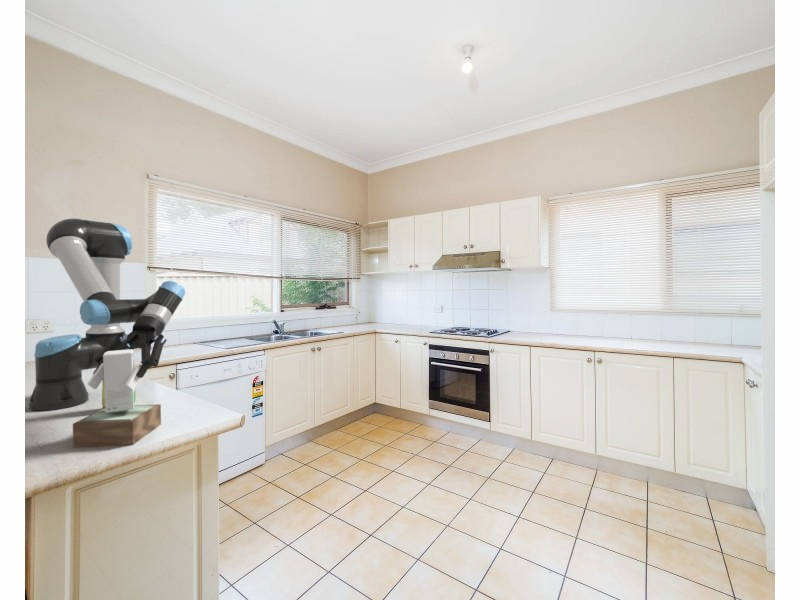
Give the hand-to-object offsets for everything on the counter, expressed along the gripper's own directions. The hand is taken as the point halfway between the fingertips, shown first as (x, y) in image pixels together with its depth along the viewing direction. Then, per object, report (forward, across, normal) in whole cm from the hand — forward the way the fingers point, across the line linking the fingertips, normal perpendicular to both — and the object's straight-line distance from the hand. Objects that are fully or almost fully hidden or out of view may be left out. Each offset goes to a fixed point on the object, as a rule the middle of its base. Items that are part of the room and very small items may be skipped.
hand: (110, 387), depth 97 cm
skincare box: (+3, 0, -7) cm, 7 cm away
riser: (+8, 0, -12) cm, 15 cm away
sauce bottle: (-6, +19, -27) cm, 33 cm away
